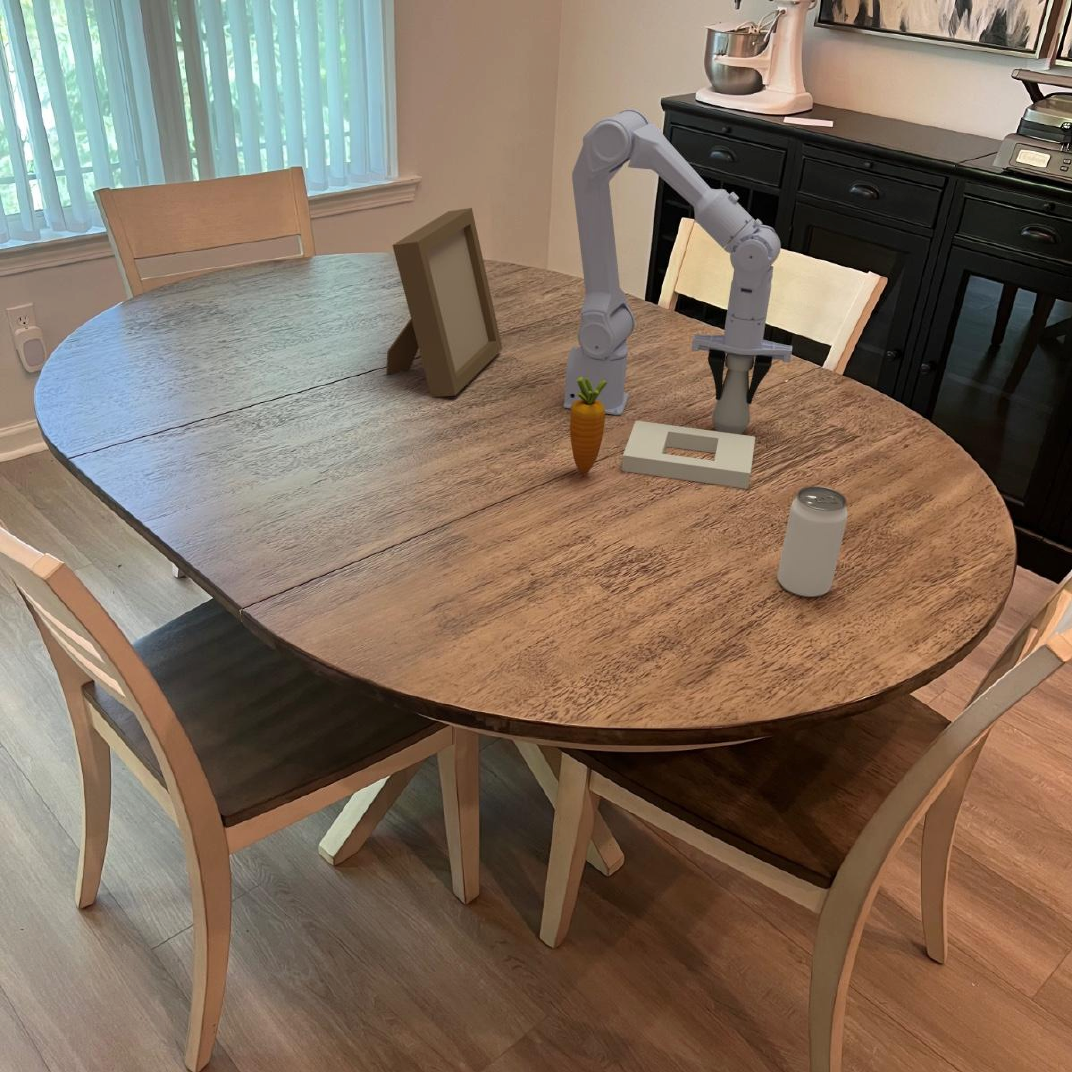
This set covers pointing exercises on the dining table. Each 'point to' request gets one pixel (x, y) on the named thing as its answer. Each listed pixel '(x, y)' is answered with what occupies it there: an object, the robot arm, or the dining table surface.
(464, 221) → the photo frame
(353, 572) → the dining table surface
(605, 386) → the robot arm
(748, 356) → the salt shaker
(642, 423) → the socket block
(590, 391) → the carrot
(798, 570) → the can
